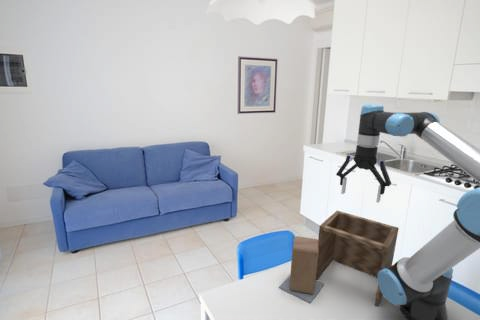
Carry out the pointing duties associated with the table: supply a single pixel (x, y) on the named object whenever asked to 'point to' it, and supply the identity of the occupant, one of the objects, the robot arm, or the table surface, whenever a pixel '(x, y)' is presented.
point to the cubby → (356, 245)
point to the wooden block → (304, 264)
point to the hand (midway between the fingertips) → (360, 197)
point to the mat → (301, 295)
